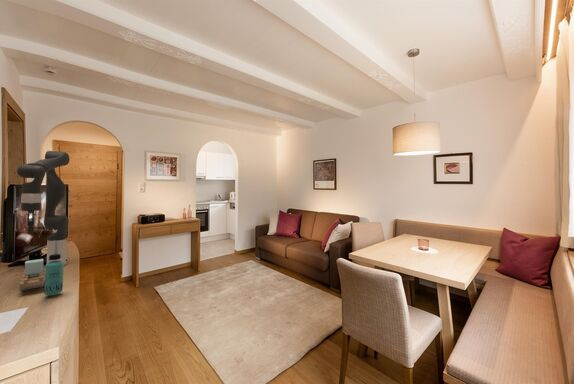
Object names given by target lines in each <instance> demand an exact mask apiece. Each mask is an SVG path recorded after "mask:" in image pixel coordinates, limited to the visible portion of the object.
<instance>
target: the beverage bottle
mask: <svg viewBox="0 0 574 384" xmlns="http://www.w3.org/2000/svg"><path fill="white" fill-rule="evenodd" d="M60 258H61V256H60V254H53V255H50V256H49V260H57V259H60ZM44 265H45V268H46V270H45V285H44V286H43V287H44V288H43V289H44V290H43V291H44V292H43V294H44V295H45V296H55V295H57V294H60V293H62V292H63V288H64V265H63V262H62V261H51V262H49V263H47V262H46V264H44Z"/></svg>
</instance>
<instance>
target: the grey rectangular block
mask: <svg viewBox="0 0 574 384" xmlns="http://www.w3.org/2000/svg"><path fill="white" fill-rule="evenodd" d="M43 268H44V258H40V259H32V260H26V261H25V262H24V271H25V275H30V277H34V276H39V273H43Z"/></svg>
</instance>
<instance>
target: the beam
mask: <svg viewBox="0 0 574 384" xmlns="http://www.w3.org/2000/svg"><path fill="white" fill-rule="evenodd" d="M45 270H46V267H43V273H39V276H34V277H30V275H25V270H23V271H22V274H21V279H20V280H19V281H20V282H19V291H20V292H23V291H25V290H32V289H36V288H37V289H38V288H42V287H45V286H44V285H45Z"/></svg>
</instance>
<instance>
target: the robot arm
mask: <svg viewBox="0 0 574 384" xmlns="http://www.w3.org/2000/svg"><path fill="white" fill-rule="evenodd" d="M70 159H71V158H70V155H69V153H67V152H66V151H65V152H64V151H57V150H56V151H54V150H47V151H46V152H45V154H44V159H40V160H37V161H35V162H29V163H24V164H21V165H20V166H18V168H17V170H16V173H17V175H18V176H19V177H21V178H24V179H33V180H32V181H27V182H23V183H22V185H21V198H20V200H21V201H20V210H21V212H27V213H25V218H26V219H25V220H26V221H25V223H26V226H27V234H28V235H31V234H32V235H33V234H34V233H35V226H36V225H35V224H36V218H37V213H35V212H37V211H41V210H42V193H41V192H42V189H41V188H42V183H43V181H44V178H45V209H44V217H43V226H44V228H45V229H46V230H57V231H56V232H54V233H52V234H49V235H48V236H47V237H46V239H47V241H46V242H47V243H46V264H47V263H49V262H51V261H62V262H63V266H65V265H67V236H68V231H69V218H68V217H69V216H67V215H65V214H64V215H61V214H58V215H57V214H55V213H56V209H57V207H58V206H59V204H61V202H62V201H63V200H64V198H65V196H66V185H65V183H64V181H63V180H62V179H61V178H60V177H59V175H58V174H57V172H56V168H59V167H65V166H67V165H68V164H69V163H70ZM53 254H60V256H61V258H60V259H57V260H49V256H50V255H53Z"/></svg>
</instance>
